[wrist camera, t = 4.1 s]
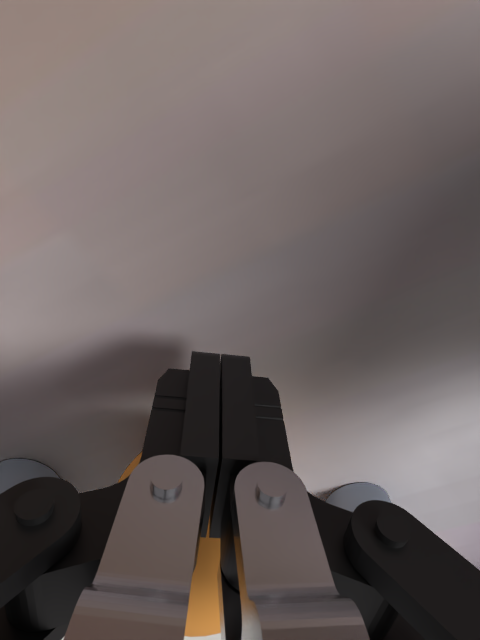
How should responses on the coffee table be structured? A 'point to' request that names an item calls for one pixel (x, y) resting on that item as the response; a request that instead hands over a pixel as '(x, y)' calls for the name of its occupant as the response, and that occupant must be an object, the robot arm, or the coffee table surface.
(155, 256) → the coffee table surface
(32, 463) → the post
